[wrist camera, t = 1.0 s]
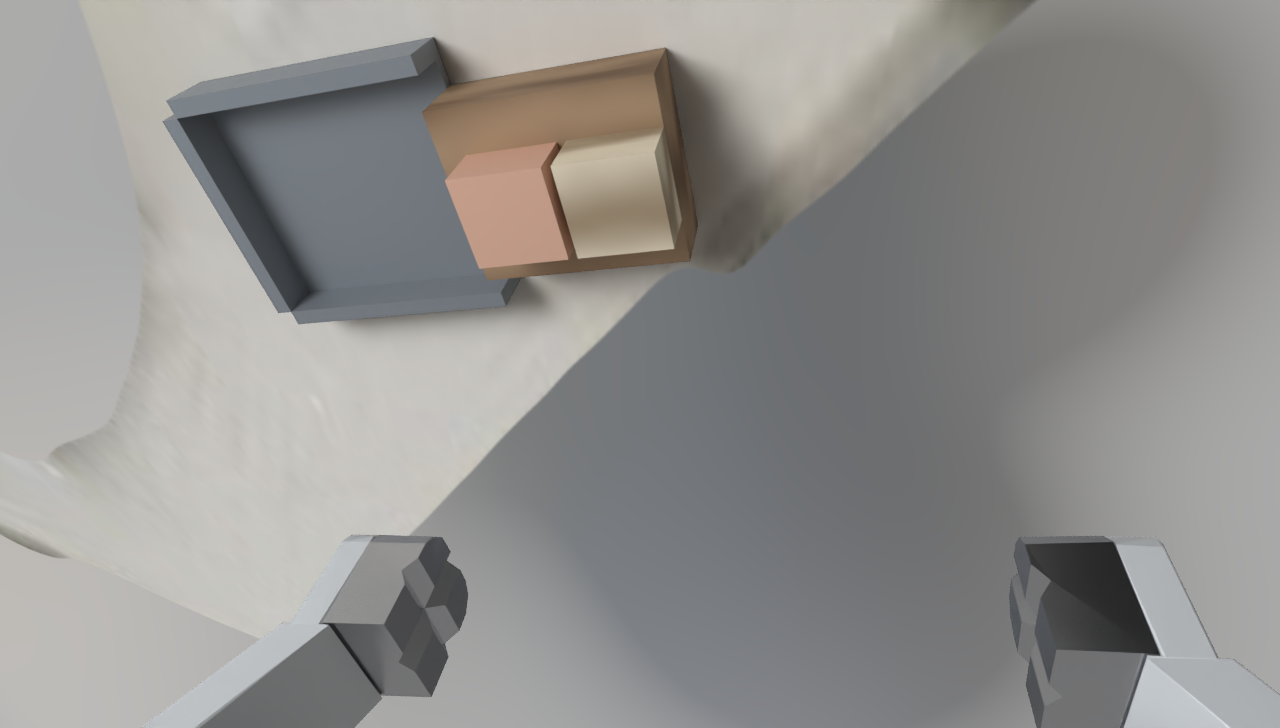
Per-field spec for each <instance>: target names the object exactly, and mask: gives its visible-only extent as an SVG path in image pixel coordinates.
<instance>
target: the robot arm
mask: <svg viewBox="0 0 1280 728" xmlns="http://www.w3.org/2000/svg"><path fill="white" fill-rule="evenodd" d="M449 554H450V550H449V548H448V546H447V545H446V543H445V541H444V540H443V538H442V537H422V536H391V535H351V536H349V537H348V538H346V539H345V540H344V541H342V542H341V544H340V545H339V547H338V549H337V550H336V552H335V553H334V555H333V557H332V558H331V560H330V561H329V563H328V564H327V566H326V568H325V569H324V571H323V572H322V574H321V576H320V577H319V579H318V580H317V582H316V584H315V585H314V587H313V588H312V590H311V591H310V593H309V595H308V596H307V598H306V599H305V601H304V603H303V604H302V606H301V607H300V609H299V611H298V612H297V614H296V615H295V617H294V619H293V620H292V622H291V623H281V624H280V625H279V626H277V627H276V628H275V629H273V630H272V631H271V632H269V633H268V634H267V635H265V636H264V637H263V638H261V639H260V640H259V641H257V642H256V643H254V644H253V645H252V646H250V647H249V648H248V649H246V650H245V651H244V652H242V653H241V654H240V655H238V656H237V657H236V658H234V659H233V660H231V661H230V662H229V663H228V664H226V665H225V666H223V667H222V668H221V669H219V670H218V671H217V672H215V673H214V674H213V675H211V676H210V677H209V678H207V679H206V680H204V681H203V682H202V683H200V684H199V685H198V686H196V687H195V688H194V689H192V690H191V691H190V692H188V693H187V694H185V695H184V696H183V697H181V698H180V699H179V700H177V701H176V702H175V703H173V704H172V705H171V706H169V707H168V708H167V709H165V710H164V711H163V712H161V713H160V714H158V715H157V716H156V717H154V718H153V719H152V720H150V721H149V722H148V723H146V724H145V725H144V726H143V727H141V728H354V727H355V726H356V725H357V724H358V723H359V722H360V721H361V720H362V719H363V718H364V717H365V716H366V715H367V714H368V713H369V712H370V711H371V709H373V708H374V706H375V705H376V704H377V703H378V702H379V701H380V700H381V699H382V697H381V695H386V696H388V695H389V696H416V697H432V694H433V692H434V690H435V687H436V685H437V683H438V680H439V678H440V675H441V673H442V671H443V668H444V666H445V664H446V661H447V659H448V654H447V650H446V646H445V643H446V641H448V640H449V639H450V638H451V637H452V636H454V635H455V634H456V633H457V632H458V631H459V630H460V627H461V625H462V622H463V620H464V617H465V614H466V608H467V600H468V592H467V586H466V581H465V579H464V577H463V575H462V573H461V571H460V570H459V569H458V568H456V567H455V566H454V565H452V564H451V563H449V562H448V561H447V558H448V556H449ZM1014 559H1015V562H1016V566H1017V570H1018V574H1016V575H1015V576H1014V577H1012V578H1011V584H1010V594H1009V600H1010V617H1011V623H1012V629H1013V635H1014V639H1015V643H1016V647H1017V652H1018V653H1019V654H1020V655H1021V656H1023V658H1025V660H1026V661H1028V662H1029V667H1028V674H1027V681H1026V688H1027V692H1028V696H1029V699H1030V703H1031V707H1032V711H1033V715H1034V718H1035V723H1036V726H1037V728H1280V694H1279V693H1277V692H1276V691H1275V690H1273V689H1272V688H1271V687H1270V686H1268V685H1267V684H1266V683H1264V682H1263V681H1262V680H1260V679H1259V678H1258V677H1257V676H1255V675H1254V674H1253V673H1251V672H1250V671H1249V670H1248V669H1246V668H1245V667H1243V666H1242V665H1241V664H1240V663H1238V662H1237V661H1236V660H1234V659H1224V658H1218V656H1217V654H1216V652H1215V649H1214V647H1213V645H1212V644H1211V641H1210V639H1209V637H1208V635H1207V633H1206V631H1205V629H1204V627H1203V625H1202V623H1201V621H1200V619H1199V617H1198V615H1197V613H1196V611H1195V609H1194V606H1193V604H1192V603H1191V600H1190V598H1189V596H1188V594H1187V592H1186V590H1185V588H1184V586H1183V584H1182V582H1181V580H1180V578H1179V576H1178V574H1177V572H1176V570H1175V568H1174V566H1173V563H1172V561H1171V559H1170V557H1169V555H1168V553H1167V551H1166V549H1165V547H1164V545H1163V544H1162V543H1161V542H1160V541H1159V540H1158V539H1157V538H1156V537H1107V538H1106V537H1104V536H1065V537H1064V536H1063V537H1062V536H1060V537H1019V538H1018V540H1017V541H1016V544H1015V551H1014Z"/></svg>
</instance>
